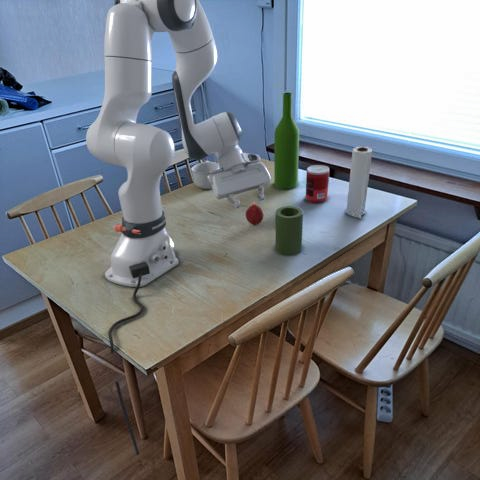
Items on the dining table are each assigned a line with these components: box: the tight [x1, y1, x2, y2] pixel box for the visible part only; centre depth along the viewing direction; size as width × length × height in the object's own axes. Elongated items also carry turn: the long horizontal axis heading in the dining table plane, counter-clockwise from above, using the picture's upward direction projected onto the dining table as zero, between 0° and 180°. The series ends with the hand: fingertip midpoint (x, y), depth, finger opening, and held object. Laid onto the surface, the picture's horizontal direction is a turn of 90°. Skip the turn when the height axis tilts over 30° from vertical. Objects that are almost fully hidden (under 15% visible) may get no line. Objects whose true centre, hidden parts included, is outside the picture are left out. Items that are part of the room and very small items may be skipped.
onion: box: [245, 201, 265, 226], centre depth 151 cm, size 6×6×8 cm
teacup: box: [190, 160, 220, 190], centre depth 180 cm, size 14×11×8 cm
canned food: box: [305, 164, 330, 204], centre depth 164 cm, size 8×8×11 cm
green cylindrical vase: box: [275, 205, 304, 256], centre depth 136 cm, size 8×8×12 cm
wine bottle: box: [273, 92, 300, 190], centre depth 168 cm, size 9×9×32 cm
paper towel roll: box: [345, 146, 373, 220], centre depth 150 cm, size 7×6×21 cm
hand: (250, 203), depth 151 cm, fingers open, 8 cm apart
